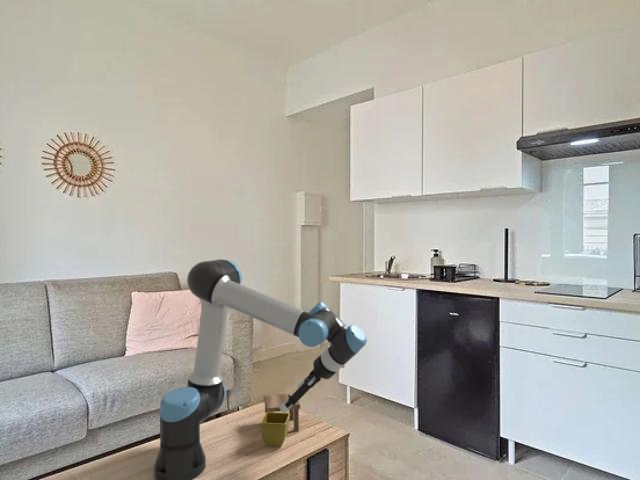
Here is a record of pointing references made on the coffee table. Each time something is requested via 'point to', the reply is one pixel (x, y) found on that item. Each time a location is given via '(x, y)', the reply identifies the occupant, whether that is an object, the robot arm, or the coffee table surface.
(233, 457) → the coffee table surface
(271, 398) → the stool
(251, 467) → the coffee table surface
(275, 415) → the flower pot
